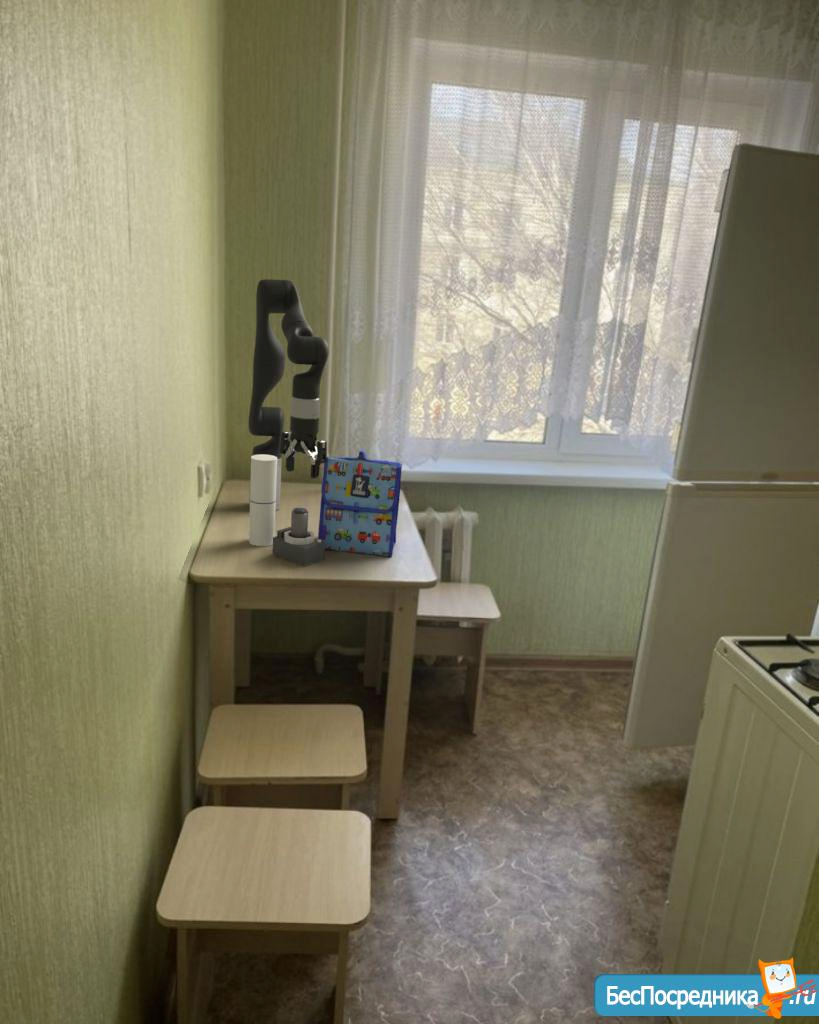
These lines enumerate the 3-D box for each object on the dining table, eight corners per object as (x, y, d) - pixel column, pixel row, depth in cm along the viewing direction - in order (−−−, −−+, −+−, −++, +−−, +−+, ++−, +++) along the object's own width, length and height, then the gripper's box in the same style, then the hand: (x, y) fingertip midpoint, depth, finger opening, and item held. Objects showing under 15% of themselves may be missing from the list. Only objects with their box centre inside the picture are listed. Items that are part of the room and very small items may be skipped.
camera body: (272, 554, 210) (273, 531, 208) (292, 547, 217) (293, 525, 215) (305, 566, 204) (306, 543, 202) (324, 558, 211) (325, 536, 209)
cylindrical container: (250, 546, 215) (252, 460, 207) (248, 537, 221) (250, 454, 214) (275, 546, 217) (278, 460, 209) (272, 537, 223) (275, 454, 216)
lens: (287, 539, 208) (288, 509, 206) (297, 535, 212) (299, 506, 209) (299, 543, 206) (301, 513, 204) (310, 539, 210) (311, 509, 207)
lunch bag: (316, 550, 217) (322, 451, 208) (324, 535, 230) (330, 441, 221) (392, 558, 216) (401, 459, 207) (396, 542, 229) (404, 448, 220)
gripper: (274, 411, 199) (272, 471, 204) (316, 420, 192) (313, 482, 197) (294, 408, 205) (291, 466, 210) (335, 417, 198) (331, 477, 203)
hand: (302, 474), depth 203 cm, fingers open, 8 cm apart
